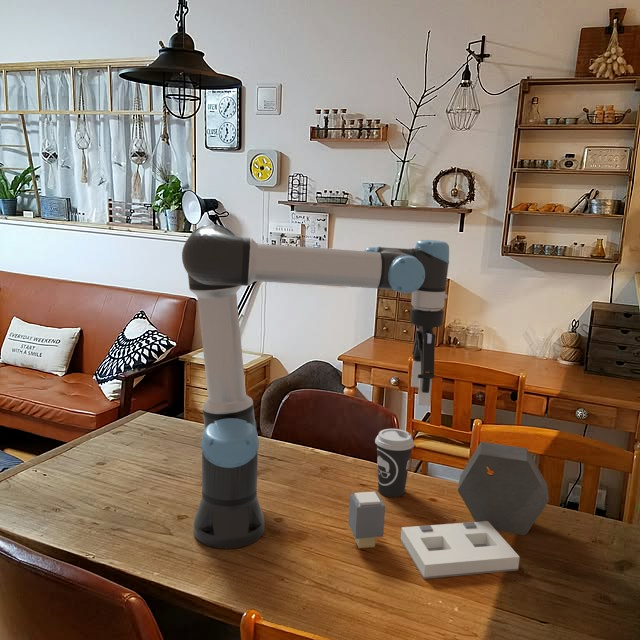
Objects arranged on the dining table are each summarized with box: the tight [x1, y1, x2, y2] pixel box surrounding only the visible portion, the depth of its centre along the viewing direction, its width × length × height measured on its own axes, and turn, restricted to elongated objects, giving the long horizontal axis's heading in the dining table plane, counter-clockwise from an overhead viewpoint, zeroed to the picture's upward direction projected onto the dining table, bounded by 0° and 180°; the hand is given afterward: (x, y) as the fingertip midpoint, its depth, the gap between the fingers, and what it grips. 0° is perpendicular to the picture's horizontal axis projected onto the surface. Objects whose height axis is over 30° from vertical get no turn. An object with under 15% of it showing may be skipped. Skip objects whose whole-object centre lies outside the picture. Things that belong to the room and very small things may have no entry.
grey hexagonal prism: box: [457, 441, 550, 536], centre depth 145 cm, size 17×8×21 cm
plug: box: [347, 491, 386, 549], centre depth 135 cm, size 6×6×11 cm
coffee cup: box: [374, 428, 415, 498], centre depth 159 cm, size 10×10×15 cm
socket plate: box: [400, 521, 520, 580], centre depth 133 cm, size 20×14×3 cm
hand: (419, 395), depth 153 cm, fingers open, 13 cm apart
